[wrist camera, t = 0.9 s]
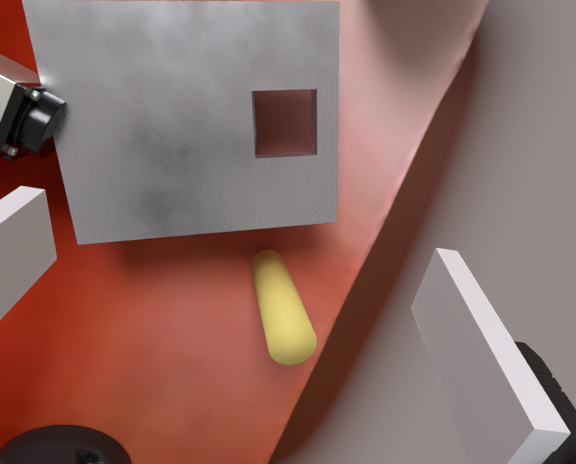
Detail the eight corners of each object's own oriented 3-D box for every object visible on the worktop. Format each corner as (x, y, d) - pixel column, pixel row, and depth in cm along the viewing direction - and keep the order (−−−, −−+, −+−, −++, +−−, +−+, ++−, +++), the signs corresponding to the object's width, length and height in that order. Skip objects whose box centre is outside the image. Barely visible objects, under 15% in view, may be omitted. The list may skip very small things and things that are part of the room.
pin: (284, 278, 43) (316, 361, 30) (251, 282, 42) (269, 368, 29) (283, 247, 41) (316, 320, 28) (249, 251, 41) (267, 326, 28)
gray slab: (313, 197, 40) (336, 222, 33) (104, 213, 37) (77, 244, 30) (312, 20, 35) (339, 1, 27) (66, 21, 31) (21, 0, 24)
